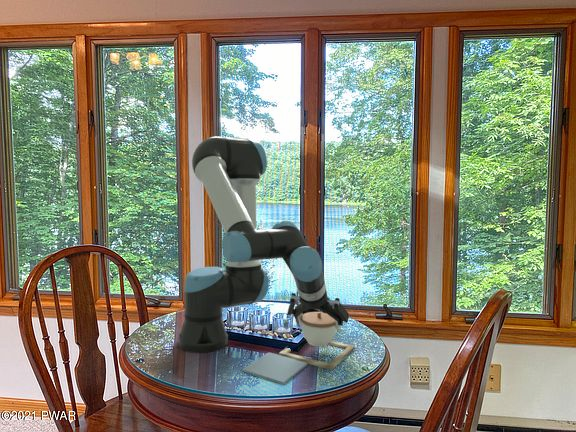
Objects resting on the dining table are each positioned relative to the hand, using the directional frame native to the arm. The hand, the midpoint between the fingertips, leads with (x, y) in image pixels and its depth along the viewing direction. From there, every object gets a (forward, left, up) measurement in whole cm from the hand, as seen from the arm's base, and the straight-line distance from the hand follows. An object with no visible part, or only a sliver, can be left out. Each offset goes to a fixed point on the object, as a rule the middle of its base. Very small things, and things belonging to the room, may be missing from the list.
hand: (320, 325), depth 125 cm
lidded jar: (+1, -3, -4) cm, 5 cm away
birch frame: (+1, -3, -7) cm, 8 cm away
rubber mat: (-4, -19, -7) cm, 21 cm away
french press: (-14, +20, -7) cm, 26 cm away
